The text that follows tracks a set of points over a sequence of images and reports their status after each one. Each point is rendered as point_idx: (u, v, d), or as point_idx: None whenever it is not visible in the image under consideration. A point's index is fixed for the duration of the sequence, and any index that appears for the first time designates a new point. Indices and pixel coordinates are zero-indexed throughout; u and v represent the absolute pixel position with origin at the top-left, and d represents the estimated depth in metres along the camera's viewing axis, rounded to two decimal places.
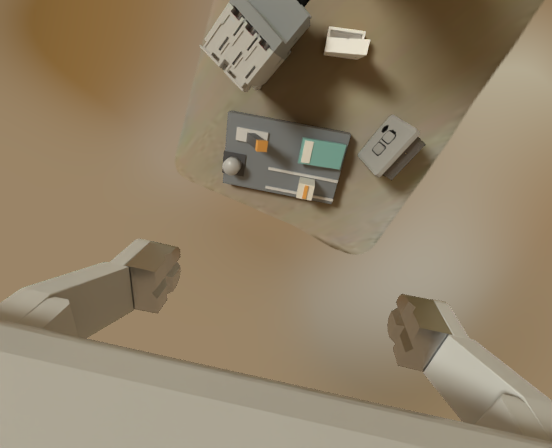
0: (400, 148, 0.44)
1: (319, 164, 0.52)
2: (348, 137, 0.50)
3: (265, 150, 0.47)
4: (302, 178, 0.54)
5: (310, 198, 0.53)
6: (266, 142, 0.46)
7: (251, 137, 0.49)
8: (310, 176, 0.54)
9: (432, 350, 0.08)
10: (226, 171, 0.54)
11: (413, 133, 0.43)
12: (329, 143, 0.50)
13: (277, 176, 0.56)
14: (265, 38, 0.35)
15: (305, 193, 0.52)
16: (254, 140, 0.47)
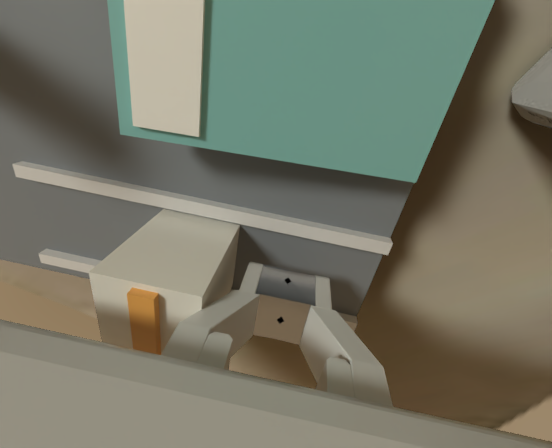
0: None
1: (277, 145, 0.07)
2: None
3: None
4: (165, 222, 0.10)
5: None
6: None
7: None
8: (238, 216, 0.10)
9: (301, 322, 0.08)
10: None
11: None
12: None
13: (83, 211, 0.11)
14: None
15: (146, 337, 0.08)
16: None
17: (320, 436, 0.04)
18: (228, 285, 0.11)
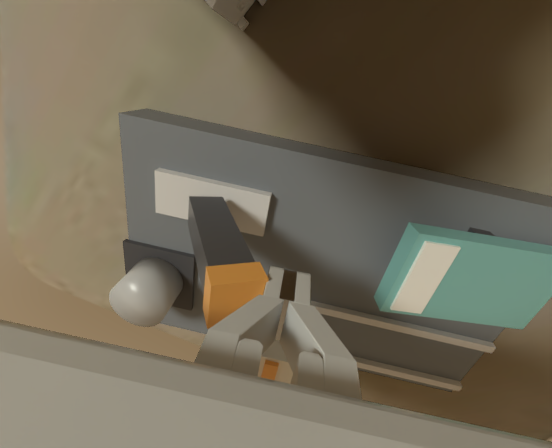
0: None
1: (456, 315, 0.14)
2: None
3: None
4: None
5: None
6: (259, 284, 0.09)
7: (196, 229, 0.11)
8: (404, 329, 0.17)
9: (281, 318, 0.09)
10: (125, 315, 0.16)
11: None
12: (519, 252, 0.12)
13: None
14: None
15: None
16: (202, 256, 0.10)
17: (320, 436, 0.04)
18: None
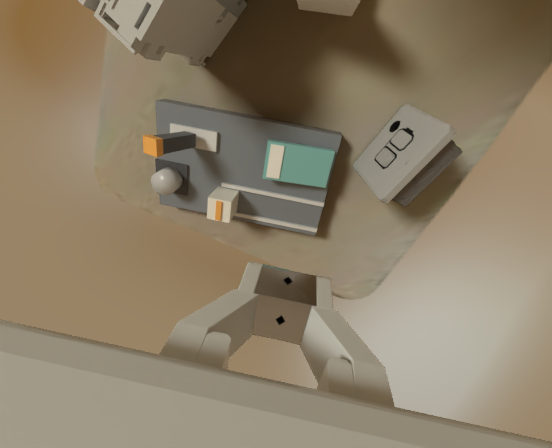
0: (422, 158, 0.27)
1: (294, 180, 0.34)
2: (338, 139, 0.33)
3: (154, 153, 0.29)
4: (219, 189, 0.37)
5: (227, 219, 0.35)
6: (154, 140, 0.28)
7: None
8: (283, 196, 0.37)
9: (302, 322, 0.08)
10: (157, 189, 0.36)
11: (444, 133, 0.26)
12: (308, 148, 0.32)
13: None
14: None
15: (218, 212, 0.35)
16: None
17: (320, 436, 0.04)
18: (236, 208, 0.38)
